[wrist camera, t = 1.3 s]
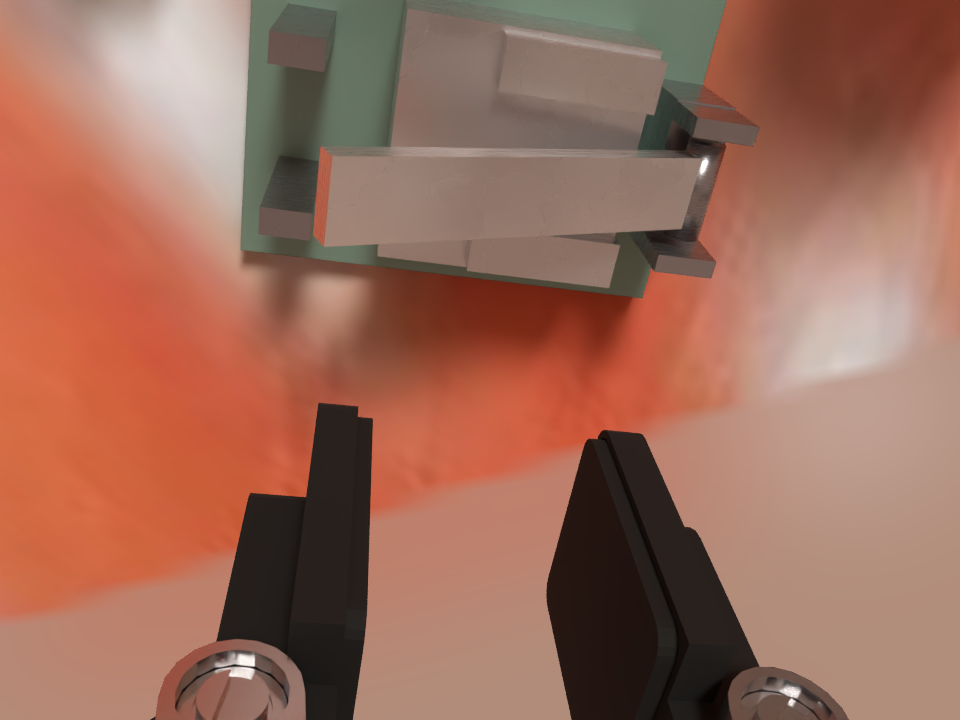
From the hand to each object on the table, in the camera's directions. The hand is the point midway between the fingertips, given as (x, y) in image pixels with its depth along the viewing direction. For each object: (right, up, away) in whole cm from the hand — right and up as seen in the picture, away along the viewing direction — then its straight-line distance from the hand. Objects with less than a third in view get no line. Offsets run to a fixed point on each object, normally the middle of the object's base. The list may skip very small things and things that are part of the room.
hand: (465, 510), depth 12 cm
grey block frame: (+1, +11, +20) cm, 22 cm away
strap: (+2, +7, +14) cm, 16 cm away
